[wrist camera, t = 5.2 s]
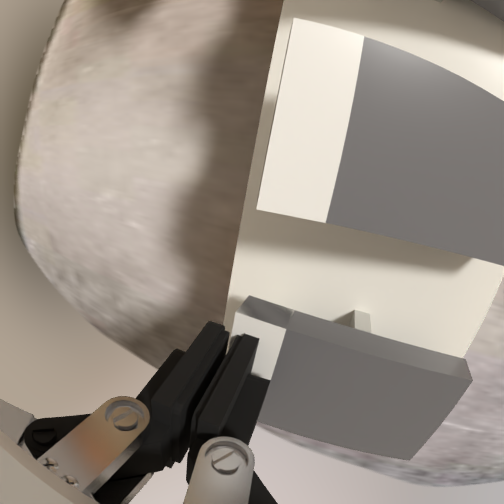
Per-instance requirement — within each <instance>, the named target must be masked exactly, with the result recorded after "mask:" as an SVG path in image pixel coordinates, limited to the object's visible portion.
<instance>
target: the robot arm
mask: <svg viewBox="0 0 504 504" xmlns="http://www.w3.org/2000/svg"><path fill="white" fill-rule="evenodd" d="M229 334H230V332H228V331H225V326H224V325H220V324H217V323H214V322H211V321H209V322H208V323H207V324H206V325H205V327H204V328H203V330H202V331H201V332H200V334H199V335H198V336H197V338H196V339H195V340H194V342H193V343H192V344H191V346H190V347H189V349H188V350H187V351H186V352H184V351H181V350H179V349H175V350H174V351H173V352H172V353H171V354H170V356H169V357H168V358H167V359H166V361H165V362H164V363H163V364H162V366H161V367H160V368H159V370H158V371H157V372H156V373H155V375H154V376H153V377H152V378H151V380H150V381H149V382H148V383H147V385H146V386H145V387H144V389H143V390H142V391H141V392H140V394H139V395H138V396H137V397H136V399H135V398H132V397H127V396H119V397H115V398H111V399H110V400H108V401H106V402H105V403H104V404H103V405H101V406H100V407H99V408H98V409H97V410H96V411H95V412H93V413H92V414H85V415H76V416H65V417H54V418H42V419H36V418H34V416H33V414H30V413H28V412H26V411H24V410H21V409H19V408H18V407H15V406H13V405H11V404H9V403H7V402H5V401H3V400H1V399H0V504H128V503H129V502H130V501H131V500H132V499H133V498H134V497H135V496H136V494H137V493H138V492H139V491H140V490H141V489H142V488H143V486H144V485H145V484H146V483H147V482H148V481H149V479H150V478H151V477H152V475H153V474H154V472H158V471H162V470H163V469H164V467H165V466H167V467H169V468H172V466H173V464H174V462H178V463H180V462H181V461H182V459H183V458H184V455H185V454H186V452H187V450H188V448H189V452H188V457H187V474H186V481H187V483H188V485H189V486H188V489H187V493H186V496H185V499H184V502H183V504H278V503H277V502H276V501H275V499H274V498H273V497H272V495H271V494H270V493H269V491H268V490H267V488H266V487H265V486H264V485H263V483H262V481H261V480H260V479H259V477H258V476H257V474H256V473H255V471H254V470H253V469H254V463H255V462H254V455H253V453H252V450H251V449H250V448H249V447H248V445H249V442H250V439H251V436H252V433H253V431H254V428H255V425H256V423H257V420H258V417H259V414H260V411H261V408H262V406H263V403H264V400H265V397H266V393H267V390H268V387H269V384H270V381H271V380H268V379H265V378H261V377H258V376H255V375H251V371H252V367H253V363H254V359H255V355H256V351H257V347H258V343H259V339H260V338H257V337H254V336H251V335H248V334H245V333H244V335H243V336H240V335H237V336H236V338H235V340H234V342H233V344H232V345H231V347H230V349H229V351H228V353H227V354H226V351H227V346H228V340H229Z"/></svg>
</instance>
